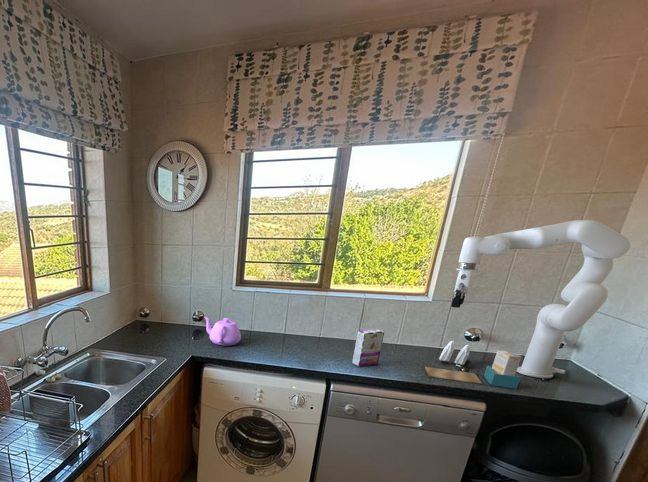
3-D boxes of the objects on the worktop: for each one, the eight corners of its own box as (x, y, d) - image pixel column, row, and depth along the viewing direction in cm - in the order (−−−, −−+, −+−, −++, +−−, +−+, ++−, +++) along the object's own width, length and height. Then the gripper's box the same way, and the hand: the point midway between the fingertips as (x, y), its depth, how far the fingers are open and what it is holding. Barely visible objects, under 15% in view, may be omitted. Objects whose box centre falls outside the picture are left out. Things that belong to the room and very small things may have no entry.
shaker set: (438, 363, 194) (444, 341, 190) (435, 360, 198) (441, 338, 194) (467, 365, 191) (474, 343, 187) (463, 363, 195) (470, 341, 191)
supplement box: (511, 386, 168) (522, 356, 163) (498, 385, 169) (509, 355, 164) (500, 379, 176) (510, 350, 171) (487, 378, 176) (497, 349, 172)
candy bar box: (369, 361, 196) (377, 328, 190) (377, 364, 192) (385, 331, 186) (350, 363, 193) (357, 330, 187) (358, 366, 189) (365, 333, 183)
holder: (507, 379, 175) (511, 368, 174) (516, 388, 166) (520, 377, 164) (483, 376, 179) (487, 365, 177) (490, 385, 169) (494, 374, 167)
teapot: (208, 335, 238) (209, 312, 233) (244, 339, 229) (246, 316, 224) (195, 344, 220) (196, 320, 215) (234, 350, 211) (237, 324, 206)
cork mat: (474, 374, 181) (474, 373, 181) (481, 384, 170) (482, 383, 170) (424, 367, 188) (425, 366, 188) (428, 376, 178) (429, 375, 177)
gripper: (476, 269, 167) (464, 309, 173) (480, 265, 179) (469, 303, 185) (454, 267, 172) (443, 307, 178) (459, 264, 184) (449, 301, 190)
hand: (456, 305), depth 181 cm, fingers open, 9 cm apart
